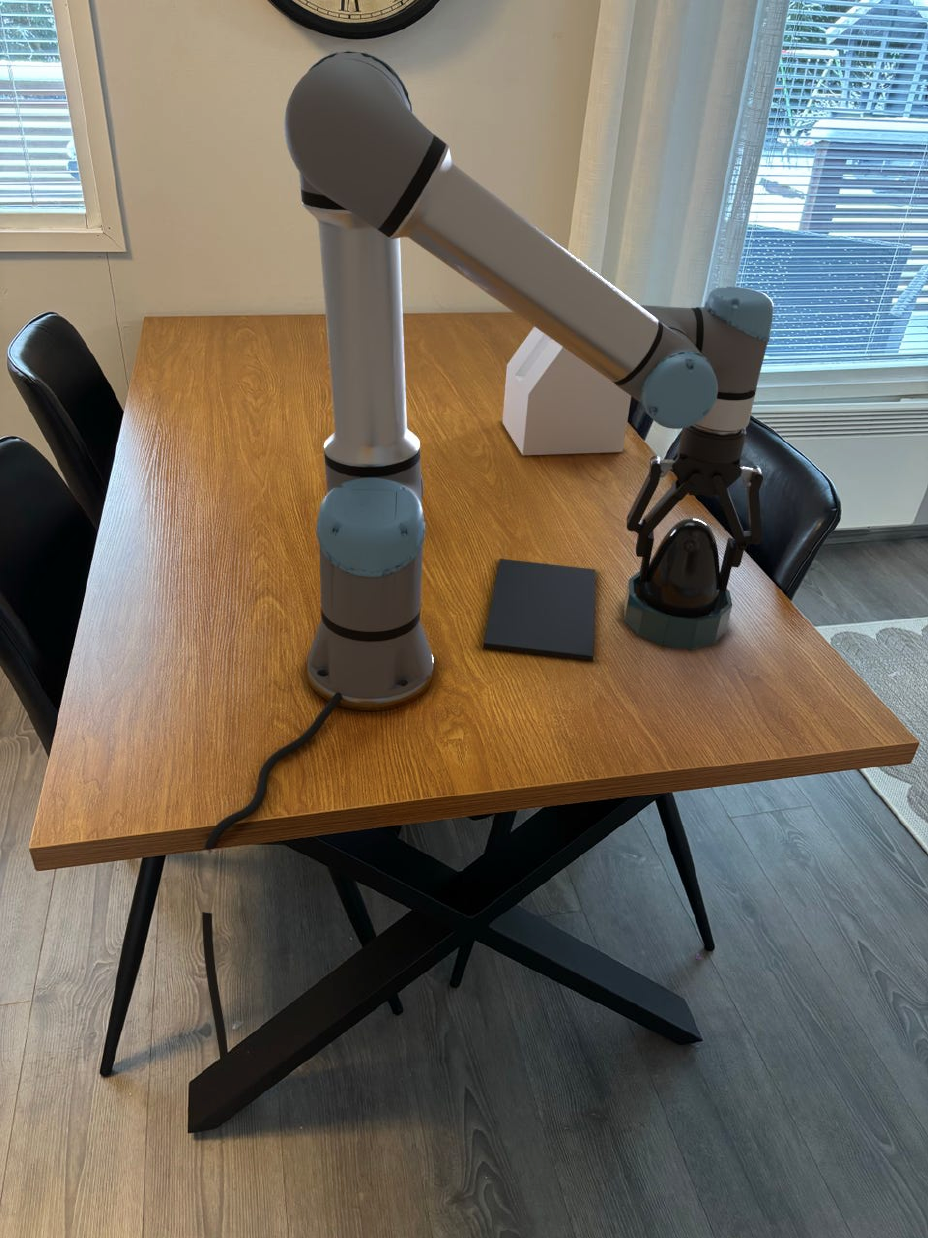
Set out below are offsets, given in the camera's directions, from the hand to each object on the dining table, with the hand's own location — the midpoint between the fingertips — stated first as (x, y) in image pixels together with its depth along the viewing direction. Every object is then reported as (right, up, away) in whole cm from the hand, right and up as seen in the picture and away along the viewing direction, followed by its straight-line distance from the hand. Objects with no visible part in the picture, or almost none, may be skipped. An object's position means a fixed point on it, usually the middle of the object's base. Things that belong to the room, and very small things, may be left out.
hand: (682, 581), depth 128 cm
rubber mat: (-18, -4, +4) cm, 19 cm away
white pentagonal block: (-11, +29, +55) cm, 63 cm away
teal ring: (0, -5, +3) cm, 6 cm away
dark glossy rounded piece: (0, -5, +3) cm, 6 cm away
